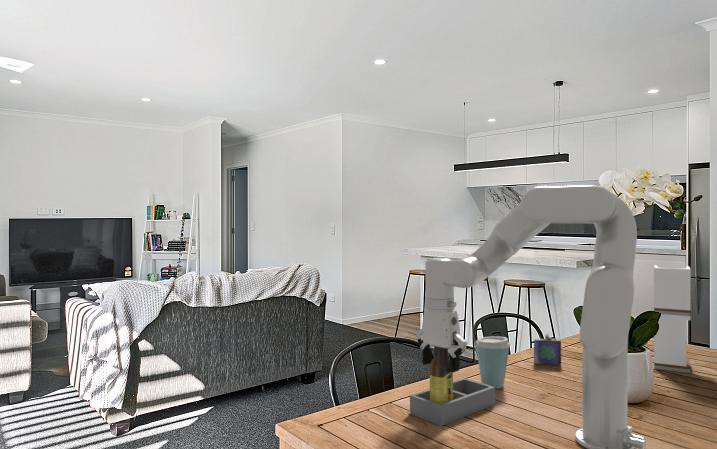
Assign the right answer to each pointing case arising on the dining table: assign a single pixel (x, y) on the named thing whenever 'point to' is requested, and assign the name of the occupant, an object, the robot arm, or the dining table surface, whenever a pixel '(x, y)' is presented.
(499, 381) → the disposable coffee cup
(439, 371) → the sauce bottle
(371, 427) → the dining table surface
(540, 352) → the flask
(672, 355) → the white square tower
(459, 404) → the dock
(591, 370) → the robot arm
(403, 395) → the dining table surface
